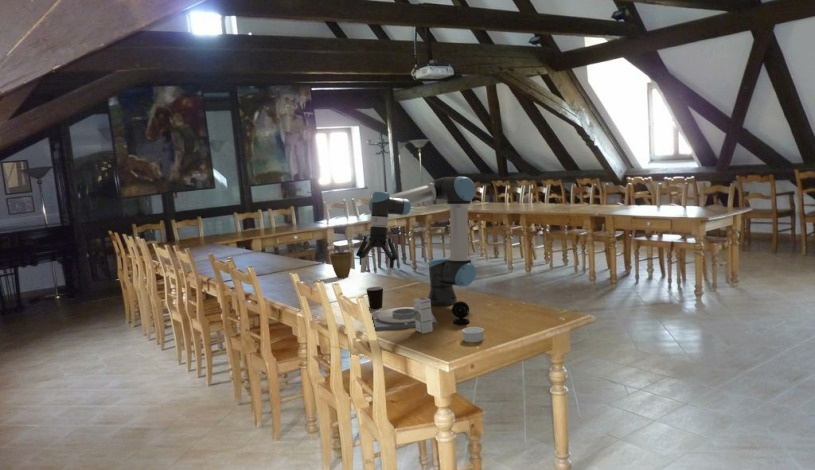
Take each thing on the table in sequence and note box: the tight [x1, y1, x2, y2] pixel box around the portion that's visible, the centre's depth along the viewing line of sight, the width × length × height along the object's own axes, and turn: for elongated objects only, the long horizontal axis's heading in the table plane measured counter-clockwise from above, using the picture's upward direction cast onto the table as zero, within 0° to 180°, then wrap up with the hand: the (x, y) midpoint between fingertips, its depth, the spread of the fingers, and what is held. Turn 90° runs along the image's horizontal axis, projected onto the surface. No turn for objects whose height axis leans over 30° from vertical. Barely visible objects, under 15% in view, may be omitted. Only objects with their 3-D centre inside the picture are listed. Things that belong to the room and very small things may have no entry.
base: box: [372, 311, 438, 331], centre depth 296 cm, size 28×28×2 cm
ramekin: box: [461, 326, 485, 344], centre depth 258 cm, size 9×9×4 cm
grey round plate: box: [378, 306, 415, 323], centre depth 296 cm, size 24×24×4 cm
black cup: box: [366, 286, 384, 310], centre depth 326 cm, size 12×9×10 cm
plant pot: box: [329, 251, 353, 279], centre depth 416 cm, size 15×15×16 cm
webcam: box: [451, 301, 471, 326], centre depth 284 cm, size 8×8×10 cm
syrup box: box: [412, 297, 433, 334], centre depth 274 cm, size 6×6×14 cm
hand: (375, 274), depth 282 cm, fingers open, 13 cm apart
